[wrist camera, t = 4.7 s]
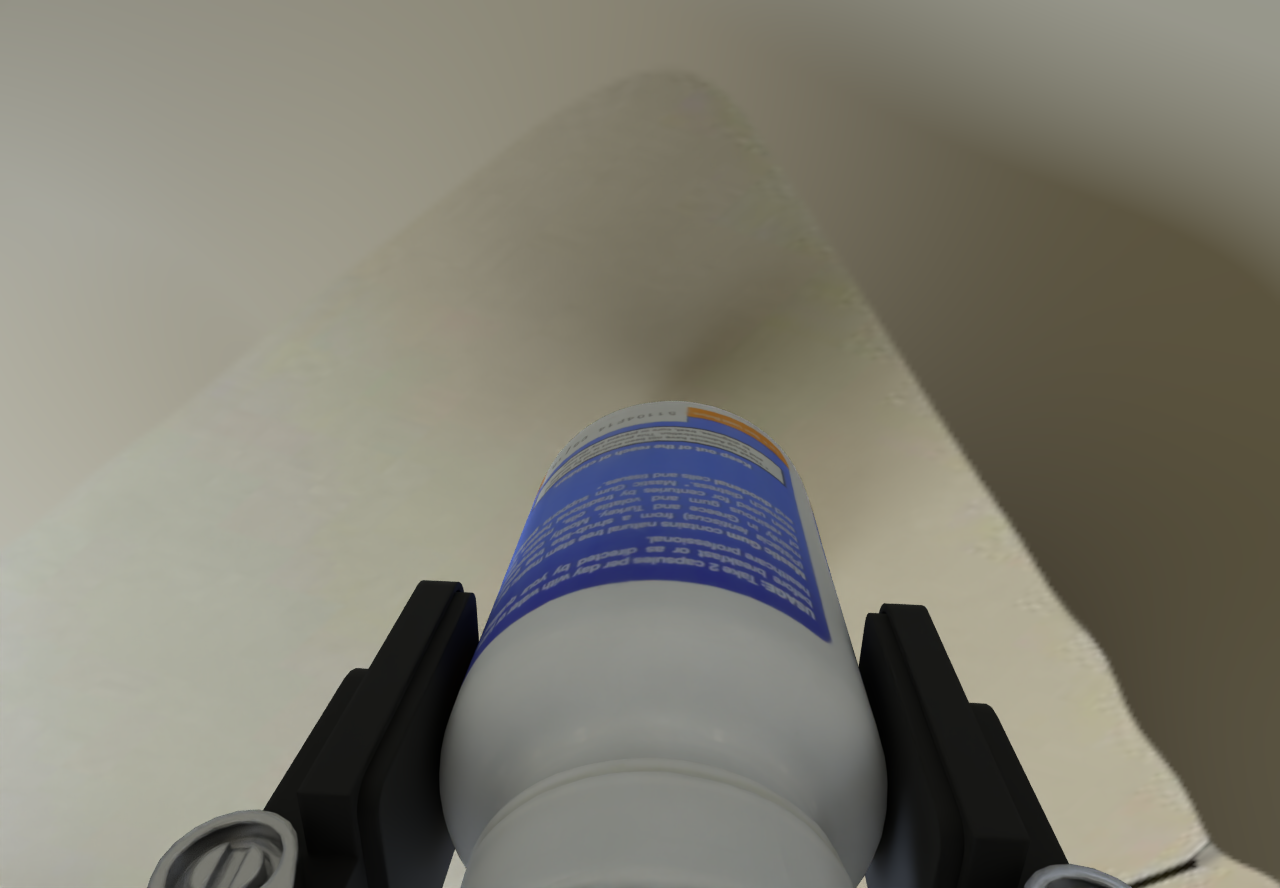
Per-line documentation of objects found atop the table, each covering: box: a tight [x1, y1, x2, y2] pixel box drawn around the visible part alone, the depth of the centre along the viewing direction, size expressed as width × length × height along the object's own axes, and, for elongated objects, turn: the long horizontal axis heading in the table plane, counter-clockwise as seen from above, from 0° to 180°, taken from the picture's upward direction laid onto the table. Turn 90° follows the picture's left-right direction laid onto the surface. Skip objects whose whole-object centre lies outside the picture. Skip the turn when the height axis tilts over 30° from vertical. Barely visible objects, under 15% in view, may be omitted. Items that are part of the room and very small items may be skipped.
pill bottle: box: [439, 401, 888, 888], centre depth 12 cm, size 5×5×10 cm
